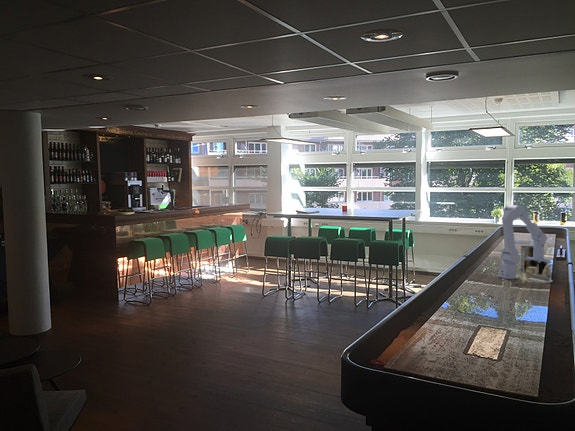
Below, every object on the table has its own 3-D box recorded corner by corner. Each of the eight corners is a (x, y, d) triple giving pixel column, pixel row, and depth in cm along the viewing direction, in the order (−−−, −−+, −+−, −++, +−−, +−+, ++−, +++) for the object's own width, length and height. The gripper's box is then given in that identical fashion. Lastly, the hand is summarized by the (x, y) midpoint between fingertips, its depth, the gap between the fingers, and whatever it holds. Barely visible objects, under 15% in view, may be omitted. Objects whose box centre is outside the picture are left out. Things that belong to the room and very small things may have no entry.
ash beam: (531, 278, 275) (531, 268, 275) (526, 276, 279) (526, 267, 278) (548, 275, 282) (549, 266, 282) (543, 274, 285) (543, 265, 285)
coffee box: (533, 269, 302) (535, 245, 301) (538, 271, 296) (539, 247, 295) (519, 269, 303) (520, 245, 302) (523, 271, 297) (524, 246, 296)
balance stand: (543, 283, 261) (543, 277, 261) (527, 279, 270) (528, 274, 270) (552, 281, 265) (552, 276, 264) (536, 278, 274) (536, 273, 273)
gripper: (554, 252, 275) (553, 274, 276) (532, 249, 288) (531, 270, 289) (546, 253, 271) (545, 275, 272) (524, 250, 284) (523, 271, 285)
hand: (537, 273), depth 280 cm, fingers closed on ash beam, 3 cm apart
